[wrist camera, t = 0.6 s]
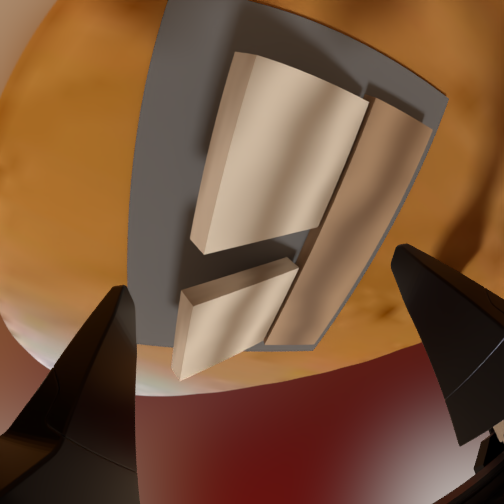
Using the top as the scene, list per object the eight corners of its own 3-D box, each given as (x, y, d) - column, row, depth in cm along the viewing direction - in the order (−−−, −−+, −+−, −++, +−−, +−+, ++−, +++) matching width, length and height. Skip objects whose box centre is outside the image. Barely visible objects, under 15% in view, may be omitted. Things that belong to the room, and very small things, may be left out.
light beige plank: (350, 95, 17) (369, 102, 16) (303, 216, 22) (317, 227, 21) (234, 51, 10) (257, 54, 9) (189, 238, 16) (203, 254, 15)
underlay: (445, 97, 17) (448, 98, 17) (312, 348, 35) (312, 350, 35) (173, -11, 11) (172, -13, 11) (130, 340, 29) (130, 343, 28)
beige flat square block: (286, 257, 24) (299, 267, 24) (254, 330, 30) (263, 340, 29) (181, 290, 18) (193, 306, 17) (171, 368, 24) (179, 381, 23)
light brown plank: (421, 124, 18) (432, 129, 17) (310, 334, 32) (314, 344, 31) (364, 94, 17) (376, 97, 15) (261, 333, 30) (264, 344, 29)
